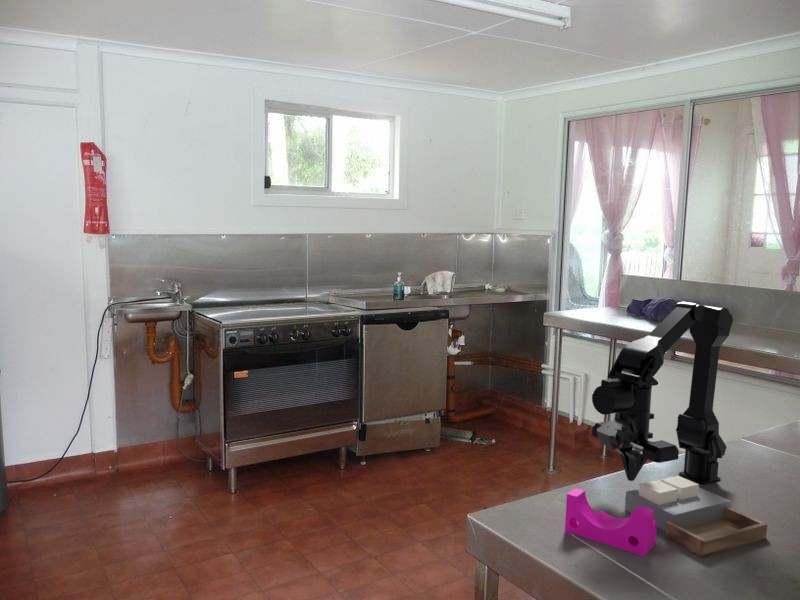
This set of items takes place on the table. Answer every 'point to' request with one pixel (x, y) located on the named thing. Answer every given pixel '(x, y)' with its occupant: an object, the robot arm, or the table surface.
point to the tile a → (658, 492)
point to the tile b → (682, 487)
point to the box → (718, 533)
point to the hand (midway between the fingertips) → (630, 480)
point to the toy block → (610, 525)
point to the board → (682, 509)
